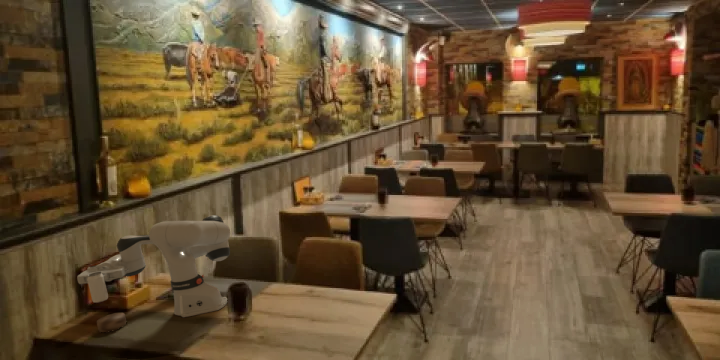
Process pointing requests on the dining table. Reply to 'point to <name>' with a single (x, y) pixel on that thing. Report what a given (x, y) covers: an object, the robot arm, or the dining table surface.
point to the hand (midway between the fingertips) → (94, 280)
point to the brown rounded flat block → (111, 322)
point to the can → (97, 287)
